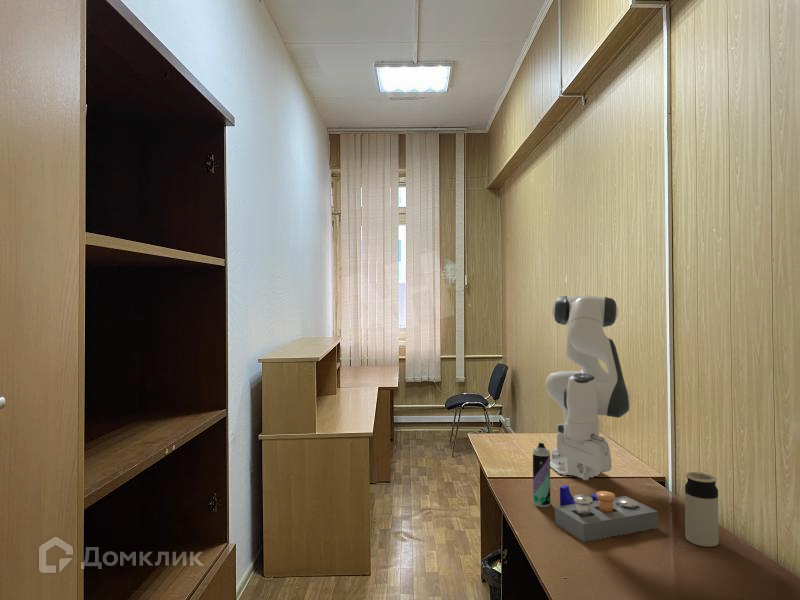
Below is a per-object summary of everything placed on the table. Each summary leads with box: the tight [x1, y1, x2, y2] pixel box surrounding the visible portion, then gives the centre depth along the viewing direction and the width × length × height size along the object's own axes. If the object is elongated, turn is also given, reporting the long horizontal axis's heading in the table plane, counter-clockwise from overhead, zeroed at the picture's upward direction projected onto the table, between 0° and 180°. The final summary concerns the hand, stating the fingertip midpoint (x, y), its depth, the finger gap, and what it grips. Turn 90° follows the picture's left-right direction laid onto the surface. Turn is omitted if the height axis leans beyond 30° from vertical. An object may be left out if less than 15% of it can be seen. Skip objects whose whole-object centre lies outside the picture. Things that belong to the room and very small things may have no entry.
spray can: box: [532, 442, 551, 508], centre depth 176 cm, size 6×6×20 cm
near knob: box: [573, 494, 593, 517], centre depth 156 cm, size 5×5×6 cm
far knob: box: [618, 497, 638, 510], centre depth 161 cm, size 5×5×6 cm
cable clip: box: [559, 484, 598, 506], centre depth 172 cm, size 12×4×6 cm, turn 44°
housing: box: [554, 495, 659, 543], centre depth 158 cm, size 13×26×5 cm, turn 109°
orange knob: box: [595, 490, 616, 513], centre depth 158 cm, size 5×5×6 cm
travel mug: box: [684, 471, 719, 548], centre depth 148 cm, size 8×8×18 cm
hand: (583, 478), depth 155 cm, fingers closed
